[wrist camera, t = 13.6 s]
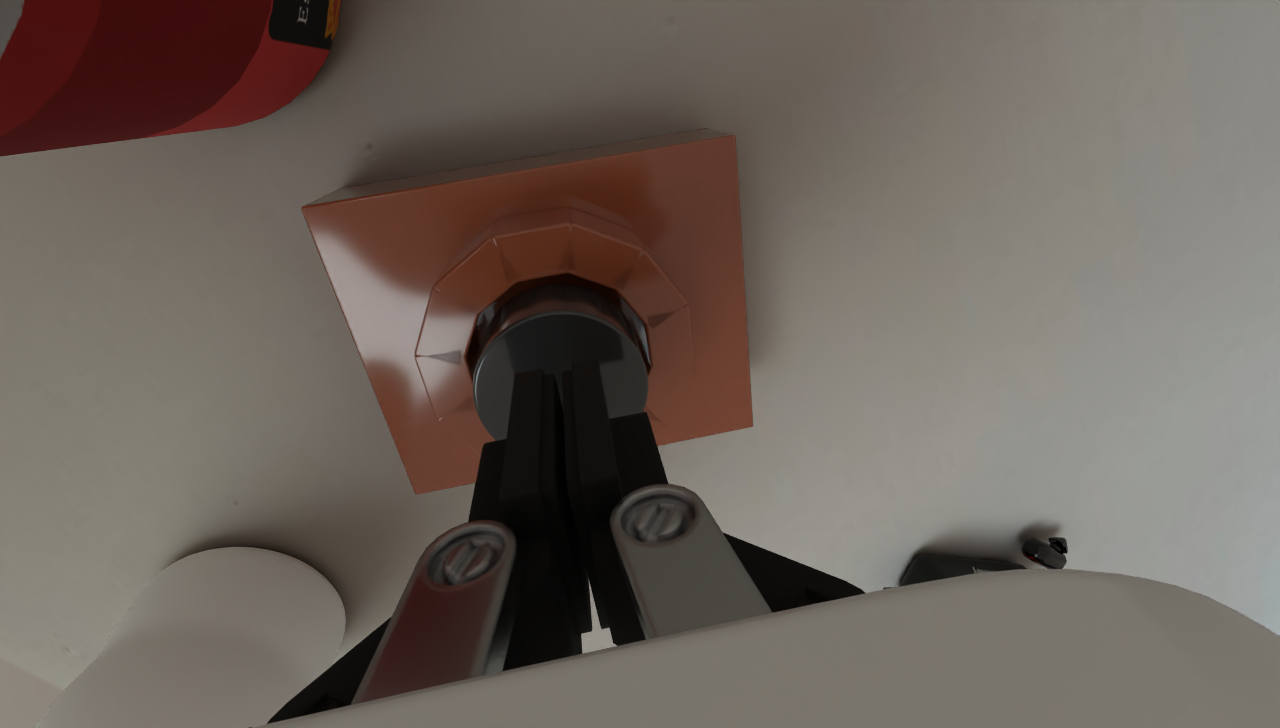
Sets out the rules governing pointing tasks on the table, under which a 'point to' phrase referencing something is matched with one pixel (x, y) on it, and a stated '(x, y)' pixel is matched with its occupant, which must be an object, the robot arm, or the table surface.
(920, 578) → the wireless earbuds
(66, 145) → the canned food
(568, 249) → the push button box
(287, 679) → the water bottle
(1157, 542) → the table surface
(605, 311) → the button
